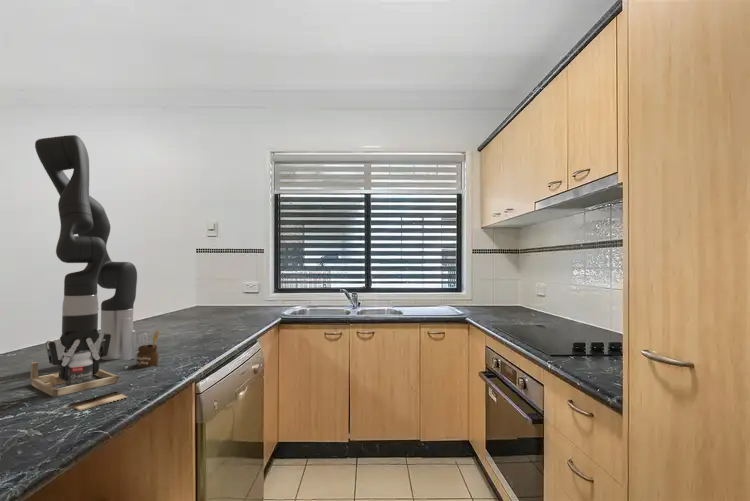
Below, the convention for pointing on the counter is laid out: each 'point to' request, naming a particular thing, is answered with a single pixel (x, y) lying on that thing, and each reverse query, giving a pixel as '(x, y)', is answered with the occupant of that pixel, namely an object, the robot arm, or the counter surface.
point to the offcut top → (56, 379)
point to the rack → (39, 383)
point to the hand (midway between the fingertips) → (79, 376)
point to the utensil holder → (148, 353)
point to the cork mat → (97, 401)
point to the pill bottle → (79, 368)
